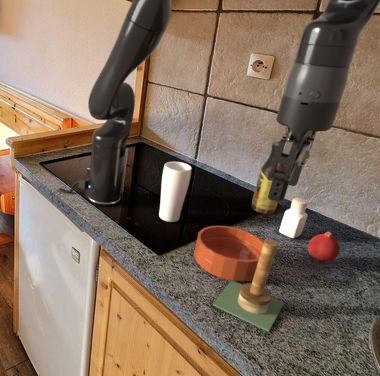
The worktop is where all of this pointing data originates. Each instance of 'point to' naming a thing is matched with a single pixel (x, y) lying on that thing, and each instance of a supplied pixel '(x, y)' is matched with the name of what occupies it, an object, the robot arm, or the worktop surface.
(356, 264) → the worktop surface
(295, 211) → the pepper shaker
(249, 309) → the dish brush
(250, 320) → the mat
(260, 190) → the sauce bottle
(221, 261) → the bowl
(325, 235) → the onion
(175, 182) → the drinking glass
